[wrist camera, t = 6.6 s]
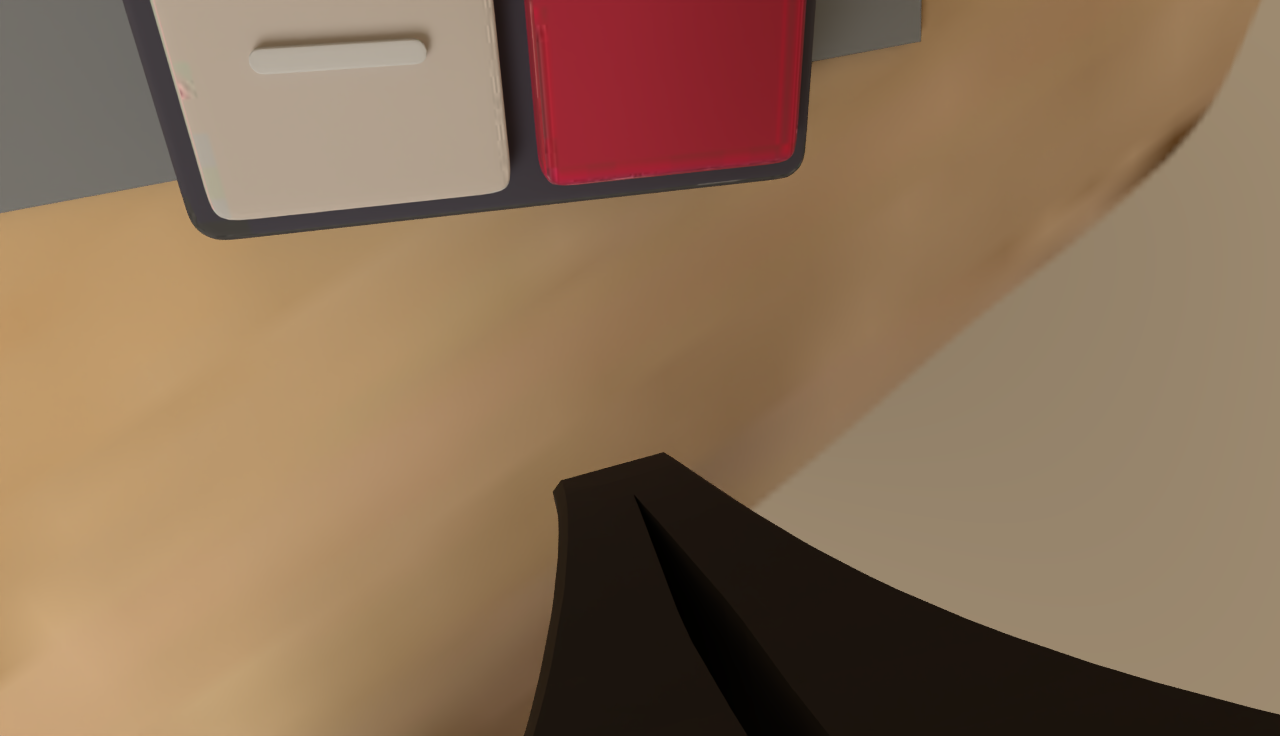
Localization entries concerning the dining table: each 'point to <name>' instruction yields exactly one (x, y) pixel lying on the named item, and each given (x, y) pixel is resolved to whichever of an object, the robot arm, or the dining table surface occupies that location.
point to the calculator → (465, 103)
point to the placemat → (124, 109)
